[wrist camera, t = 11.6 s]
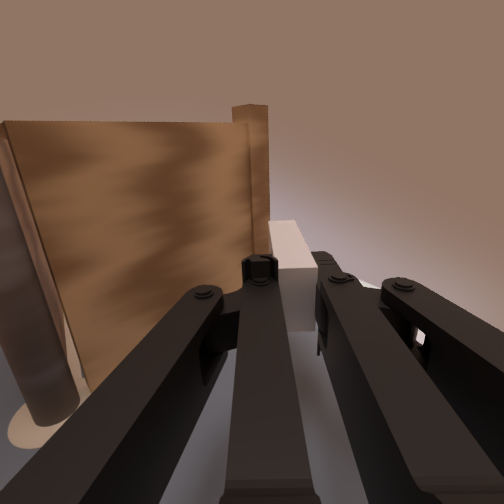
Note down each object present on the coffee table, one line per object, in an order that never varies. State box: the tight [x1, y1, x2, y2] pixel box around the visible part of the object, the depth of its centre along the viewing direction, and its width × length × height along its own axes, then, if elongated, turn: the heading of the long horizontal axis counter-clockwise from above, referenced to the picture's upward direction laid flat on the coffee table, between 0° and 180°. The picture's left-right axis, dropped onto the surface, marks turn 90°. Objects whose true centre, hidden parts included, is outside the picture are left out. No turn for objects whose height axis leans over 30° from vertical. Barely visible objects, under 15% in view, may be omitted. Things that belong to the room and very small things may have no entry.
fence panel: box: [2, 104, 270, 393], centre depth 17 cm, size 13×2×14 cm, turn 133°
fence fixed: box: [0, 124, 80, 427], centre depth 17 cm, size 14×2×16 cm, turn 34°
